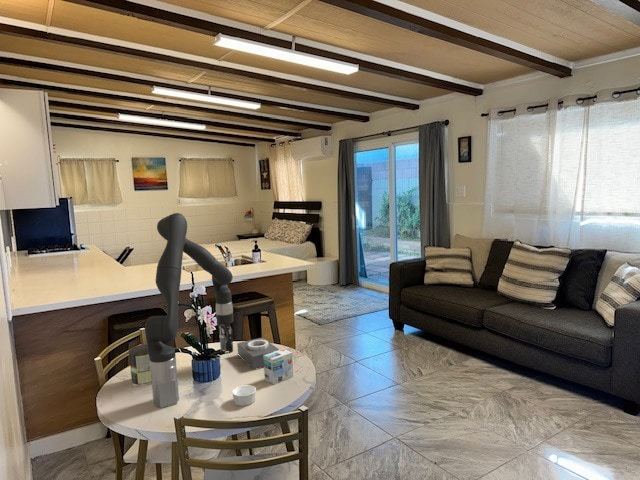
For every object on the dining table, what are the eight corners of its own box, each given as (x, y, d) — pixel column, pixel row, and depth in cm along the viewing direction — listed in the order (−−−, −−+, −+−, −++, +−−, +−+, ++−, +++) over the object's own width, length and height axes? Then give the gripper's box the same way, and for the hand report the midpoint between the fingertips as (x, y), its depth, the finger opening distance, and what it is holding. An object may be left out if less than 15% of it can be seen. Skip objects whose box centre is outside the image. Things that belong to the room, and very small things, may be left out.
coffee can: (126, 385, 179) (123, 353, 177) (140, 375, 189) (137, 344, 187) (149, 386, 178) (146, 353, 176) (162, 375, 188) (159, 344, 186)
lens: (235, 351, 196) (234, 334, 195) (222, 354, 193) (221, 337, 192) (231, 348, 201) (230, 331, 200) (218, 350, 198) (217, 333, 197)
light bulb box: (273, 385, 175) (271, 359, 174) (263, 379, 180) (262, 355, 179) (294, 376, 182) (292, 352, 181) (284, 371, 187) (283, 348, 186)
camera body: (280, 362, 197) (279, 346, 196) (254, 369, 190) (253, 353, 189) (263, 349, 214) (262, 334, 213) (238, 355, 207) (237, 340, 206)
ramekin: (235, 395, 167) (235, 385, 167) (258, 395, 167) (257, 384, 167) (230, 407, 159) (229, 396, 158) (254, 406, 158) (253, 395, 158)
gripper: (237, 314, 191) (240, 351, 193) (227, 307, 203) (229, 342, 205) (221, 317, 187) (223, 354, 189) (211, 309, 199) (214, 345, 201)
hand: (226, 348), depth 197 cm, fingers closed on lens, 5 cm apart
